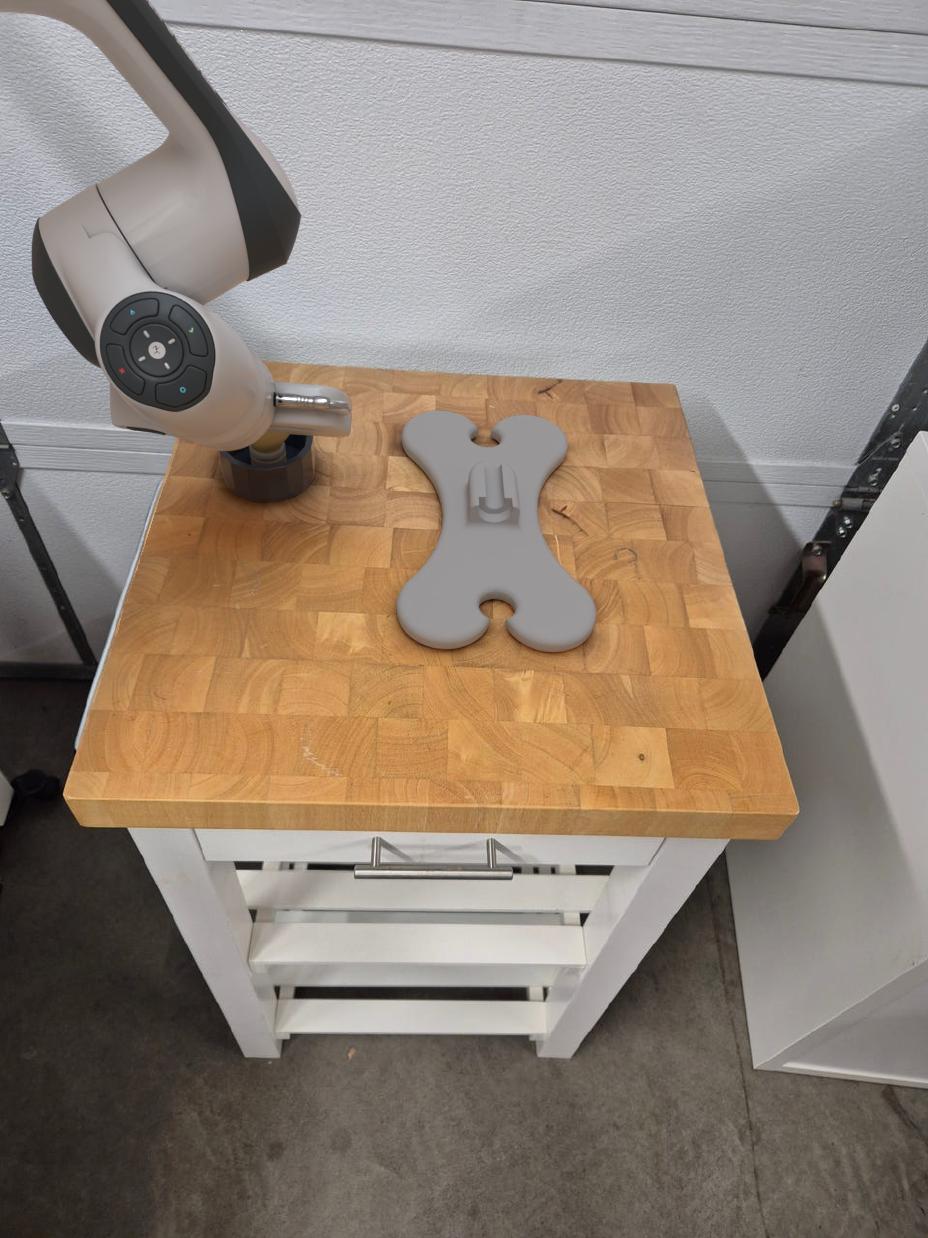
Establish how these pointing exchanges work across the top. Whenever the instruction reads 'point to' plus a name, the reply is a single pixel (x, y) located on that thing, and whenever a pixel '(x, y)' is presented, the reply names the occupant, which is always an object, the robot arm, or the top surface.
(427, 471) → the holder
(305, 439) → the socket
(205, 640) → the top surface
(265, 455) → the light bulb
